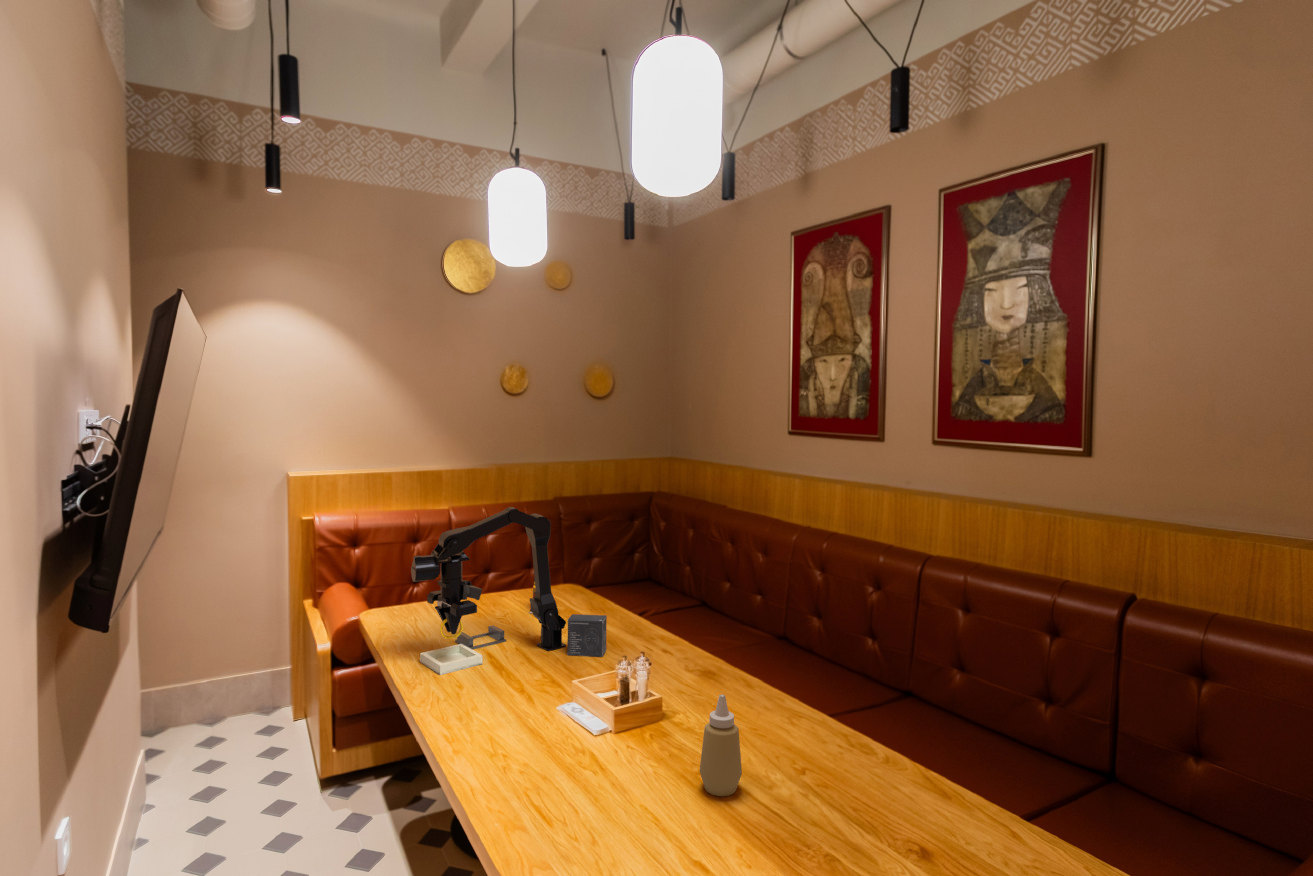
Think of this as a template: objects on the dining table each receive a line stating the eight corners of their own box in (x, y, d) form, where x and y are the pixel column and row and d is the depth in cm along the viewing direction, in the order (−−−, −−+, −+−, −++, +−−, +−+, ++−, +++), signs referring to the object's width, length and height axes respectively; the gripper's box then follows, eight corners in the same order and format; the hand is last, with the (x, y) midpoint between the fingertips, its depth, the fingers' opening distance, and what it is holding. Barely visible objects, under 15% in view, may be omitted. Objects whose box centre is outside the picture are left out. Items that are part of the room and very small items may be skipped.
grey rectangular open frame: (506, 641, 218) (506, 631, 218) (470, 650, 210) (470, 639, 210) (490, 633, 225) (490, 624, 225) (455, 641, 217) (455, 632, 217)
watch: (442, 641, 196) (440, 620, 196) (439, 638, 199) (438, 617, 198) (464, 637, 199) (462, 616, 199) (461, 633, 202) (460, 613, 201)
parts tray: (482, 664, 199) (482, 655, 199) (440, 675, 190) (440, 665, 190) (461, 652, 208) (461, 643, 208) (420, 662, 200) (420, 653, 200)
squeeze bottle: (714, 773, 142) (716, 684, 141) (749, 788, 137) (752, 695, 136) (690, 790, 136) (692, 696, 135) (726, 806, 131) (728, 708, 130)
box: (606, 649, 212) (607, 614, 212) (603, 657, 206) (603, 621, 205) (571, 648, 213) (571, 613, 213) (566, 655, 207) (566, 620, 206)
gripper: (494, 579, 197) (494, 635, 197) (462, 567, 210) (462, 619, 211) (456, 586, 189) (457, 644, 190) (426, 572, 203) (426, 627, 204)
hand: (451, 633), depth 199 cm, fingers closed on watch, 2 cm apart
